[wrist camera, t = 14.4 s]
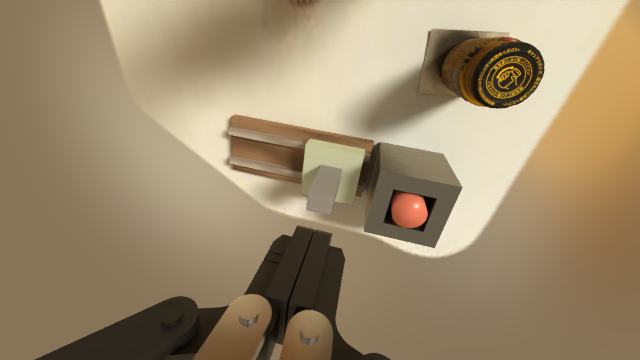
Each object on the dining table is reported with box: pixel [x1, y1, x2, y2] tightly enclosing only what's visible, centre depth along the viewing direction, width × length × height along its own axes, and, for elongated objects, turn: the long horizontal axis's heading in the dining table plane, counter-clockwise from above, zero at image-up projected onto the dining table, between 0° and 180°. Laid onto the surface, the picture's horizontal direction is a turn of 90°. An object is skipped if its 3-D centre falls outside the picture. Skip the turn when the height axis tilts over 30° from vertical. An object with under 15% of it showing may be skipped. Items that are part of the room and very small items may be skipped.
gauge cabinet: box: [364, 142, 462, 248], centre depth 35 cm, size 9×9×10 cm
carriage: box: [300, 139, 365, 215], centre depth 34 cm, size 8×8×10 cm
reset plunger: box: [391, 189, 428, 228], centre depth 33 cm, size 4×4×6 cm
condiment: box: [418, 29, 544, 109], centre depth 26 cm, size 7×8×12 cm
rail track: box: [228, 115, 374, 197], centre depth 40 cm, size 9×22×2 cm, turn 82°
